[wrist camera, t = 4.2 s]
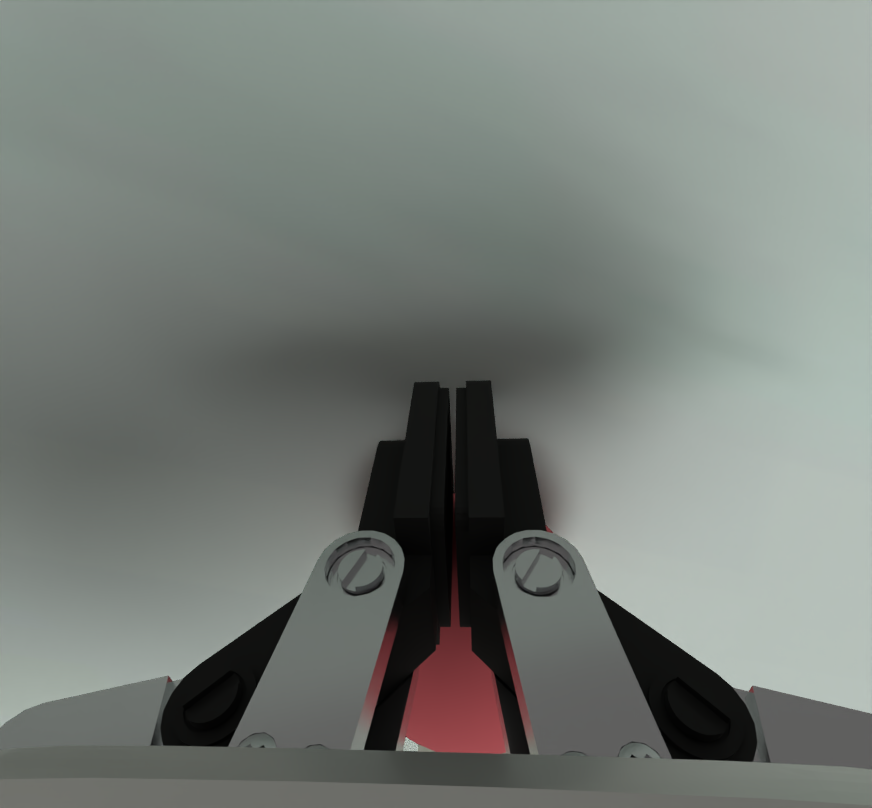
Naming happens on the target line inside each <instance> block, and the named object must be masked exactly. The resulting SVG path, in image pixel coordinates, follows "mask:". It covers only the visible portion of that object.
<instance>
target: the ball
mask: <svg viewBox="0 0 872 808" xmlns="http://www.w3.org/2000/svg"><path fill="white" fill-rule="evenodd" d="M546 530H547V532H550V533H553V532H552V531H551V530H550V529H549V528H548V527H547V526H546ZM406 737H407V738H409V739H410V740H412V741H414V742H415V743H417V744H419V745H421V746H423V747H426V748H428V749H430V750H433V751H435V752H455V753H492V754H503V753H506V750H505V745H504V740H503V735H502V730H501V725H500V720H499V715H498V709H497V704H496V699H495V694H494V689H493V684H492V679H491V669H490V668H489V667H488V666H487V665H486V664H485V663H484V662H483V661H482V660H481V659H480V658H479V657H478V656H477V655H475V654H474V653H473V652H472V646H471V627H460V622H459V600H458V578H457V557H456V535H455V493H453V543H452V597H451V627H440V645H436V651H435V652H433V653H432V654H431V655H430V656H429V657H428V658H427V659H426V660H425V661H424V662H423V663H422V664H421V665H419V677H418V682H417V686H416V691H415V695H414V700H413V705H412V709H411V714H410V718H409V723H408V728H407V732H406Z"/></svg>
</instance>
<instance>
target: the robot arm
mask: <svg viewBox="0 0 872 808" xmlns="http://www.w3.org/2000/svg"><path fill="white" fill-rule="evenodd" d="M455 535H456V557H457V578H458V600H459V622H460V627H471V646H472V652H473V653H474V654H475V655H477V656H478V657H479V658H480V659H481V660H482V661H483V662H484V663H485V664H486V665H487V666H488V667H489V668H490V669H491V679H492V684H493V689H494V694H495V699H496V704H497V709H498V715H499V720H500V725H501V730H502V735H503V740H504V745H505V750H506V754H492V753H455V752H418V751H403V746H404V741H405V737H406V732H407V728H408V723H409V718H410V714H411V709H412V705H413V700H414V695H415V691H416V686H417V682H418V677H419V665H421V664H422V663H423V662H424V661H425V660H426V659H427V658H428V657H429V656H430V655H431V654H432V653H433V652H435V651H436V645H440V627H451V597H452V543H453V465H452V443H451V421H450V399H449V388H440V384H439V382H415V383H414V387H413V394H412V400H411V406H410V413H409V419H408V425H407V432H406V438H405V440H397V441H380V442H379V444H378V447H377V451H376V456H375V460H374V464H373V469H372V473H371V477H370V482H369V486H368V490H367V495H366V499H365V503H364V508H363V512H362V516H361V521H360V525H359V529H358V531H357V532H353V533H349V534H346V535H344V536H343V537H341V538H339V539H337V540H335V541H334V542H333V543H331V544H330V545H329V546H328V547H327V548H326V549H325V550H324V551H323V553H322V554H321V556H320V557H319V559H318V561H317V563H316V565H315V567H314V569H313V571H312V573H311V575H310V577H309V579H308V581H307V584H306V586H305V588H304V590H303V592H302V593H301V594H300V595H298V596H297V597H296V598H294V599H293V600H291V601H290V602H288V603H287V604H285V605H284V606H283V607H281V608H280V609H278V610H277V611H275V612H274V613H273V614H271V615H270V616H268V617H267V618H265V619H264V620H263V621H261V622H260V623H258V624H257V625H255V626H254V627H253V628H251V629H250V630H248V631H247V632H245V633H244V634H243V635H241V636H240V637H238V638H237V639H235V640H234V641H233V642H231V643H230V644H228V645H227V646H225V647H224V648H222V649H221V650H220V651H218V652H217V653H215V654H214V655H212V656H211V657H210V658H208V659H207V660H205V661H204V662H202V663H201V664H200V665H198V666H197V667H196V668H195V669H193V670H192V671H191V672H190V673H189V674H188V675H186V676H185V677H184V678H183V679H181V680H176V681H172V680H171V679H170V677H169V676H165V677H160V678H156V679H151V680H147V681H142V682H137V683H133V684H128V685H124V686H119V687H115V688H110V689H106V690H101V691H96V692H92V693H87V694H83V695H78V696H74V697H69V698H64V699H60V700H55V701H51V702H46V703H42V704H40V705H37V706H34V707H32V708H29V709H26V710H24V711H23V712H21V713H20V714H18V715H17V716H15V717H14V718H12V719H11V720H9V721H7V722H6V723H5V724H4V725H3V726H2V727H1V728H0V808H872V714H870V713H866V712H862V711H858V710H853V709H849V708H845V707H841V706H836V705H832V704H828V703H824V702H820V701H815V700H811V699H807V698H803V697H798V696H794V695H790V694H786V693H782V692H777V691H773V690H769V689H765V688H760V687H756V686H752V687H751V689H750V690H749V692H748V691H744V690H740V689H736V688H733V687H732V686H730V685H729V684H728V683H727V682H726V681H725V680H723V679H722V678H721V677H720V676H719V675H718V674H716V673H715V672H714V671H712V670H711V669H709V668H708V667H706V666H705V665H704V664H702V663H701V662H699V661H698V660H696V659H695V658H694V657H692V656H691V655H689V654H688V653H686V652H685V651H684V650H682V649H681V648H679V647H678V646H677V645H675V644H674V643H672V642H671V641H669V640H668V639H667V638H665V637H664V636H662V635H661V634H659V633H658V632H657V631H655V630H654V629H652V628H651V627H649V626H648V625H647V624H645V623H644V622H642V621H641V620H639V619H638V618H637V617H635V616H634V615H632V614H631V613H629V612H628V611H627V610H625V609H624V608H622V607H621V606H619V605H618V604H617V603H615V602H614V601H612V600H611V599H609V598H608V597H607V596H605V595H604V594H602V593H601V592H599V591H598V590H597V589H596V587H595V584H594V582H593V580H592V578H591V575H590V573H589V571H588V569H587V566H586V564H585V562H584V560H583V558H582V556H581V555H580V553H579V552H578V550H577V549H576V548H575V547H574V546H573V545H572V544H571V543H569V542H568V541H567V540H566V539H564V538H562V537H560V536H558V535H556V534H554V533H550V532H547V530H546V525H545V520H544V515H543V509H542V504H541V499H540V494H539V489H538V483H537V478H536V473H535V468H534V463H533V457H532V452H531V447H530V443H529V440H528V438H521V439H497V436H496V426H495V416H494V407H493V397H492V387H491V381H466V388H457V390H456V460H455Z"/></svg>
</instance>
